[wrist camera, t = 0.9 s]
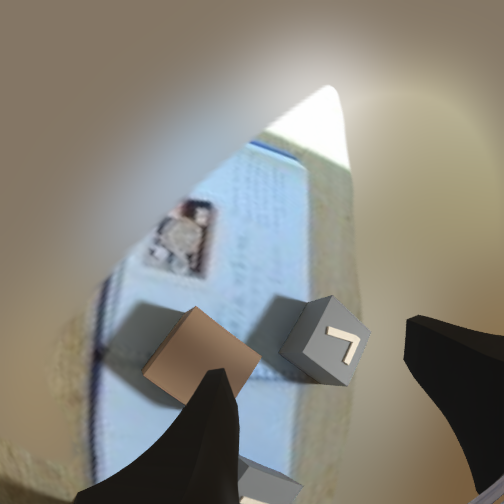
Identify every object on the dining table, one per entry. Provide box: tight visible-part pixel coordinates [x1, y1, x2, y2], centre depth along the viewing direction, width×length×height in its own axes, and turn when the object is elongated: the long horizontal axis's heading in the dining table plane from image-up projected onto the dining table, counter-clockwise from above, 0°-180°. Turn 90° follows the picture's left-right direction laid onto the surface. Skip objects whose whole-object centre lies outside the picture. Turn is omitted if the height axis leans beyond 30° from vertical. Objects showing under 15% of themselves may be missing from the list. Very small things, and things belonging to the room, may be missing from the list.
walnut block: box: [141, 306, 262, 405], centre depth 19 cm, size 6×6×4 cm
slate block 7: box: [279, 295, 371, 386], centre depth 24 cm, size 6×6×4 cm
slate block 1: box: [238, 455, 303, 504], centre depth 16 cm, size 6×6×4 cm
